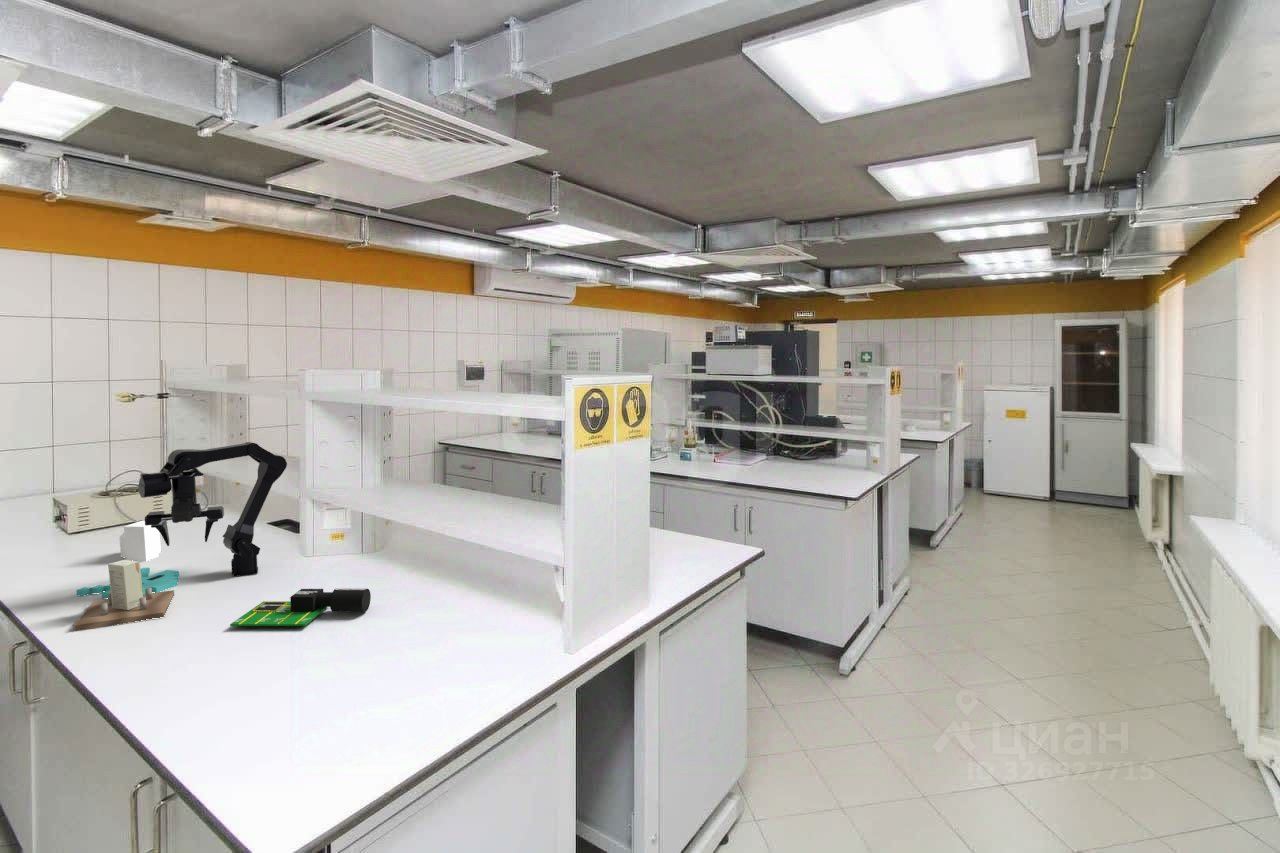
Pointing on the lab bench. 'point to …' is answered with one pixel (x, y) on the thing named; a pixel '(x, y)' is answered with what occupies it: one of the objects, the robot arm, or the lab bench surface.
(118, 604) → the skincare box
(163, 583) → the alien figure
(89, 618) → the peg board
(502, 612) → the lab bench surface
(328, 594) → the circuit board with cylinder
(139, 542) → the white boxy block
